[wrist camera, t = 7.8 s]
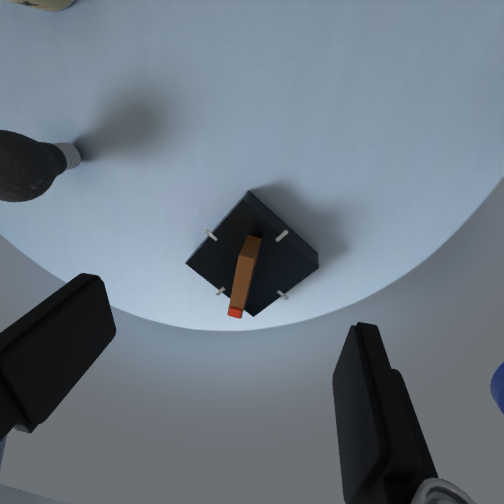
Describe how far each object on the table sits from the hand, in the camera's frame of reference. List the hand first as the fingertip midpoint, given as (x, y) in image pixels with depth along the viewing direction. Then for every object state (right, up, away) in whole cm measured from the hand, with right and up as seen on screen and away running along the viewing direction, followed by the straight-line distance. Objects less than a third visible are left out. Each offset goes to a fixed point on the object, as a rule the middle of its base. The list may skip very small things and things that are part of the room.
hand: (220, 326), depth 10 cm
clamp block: (+1, +3, +20) cm, 20 cm away
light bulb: (-17, +13, +18) cm, 28 cm away
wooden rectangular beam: (+1, +1, +17) cm, 17 cm away
